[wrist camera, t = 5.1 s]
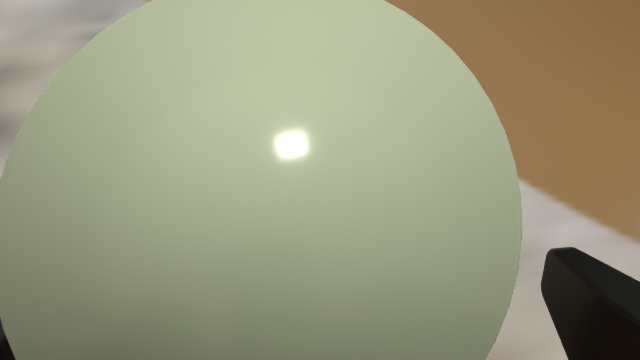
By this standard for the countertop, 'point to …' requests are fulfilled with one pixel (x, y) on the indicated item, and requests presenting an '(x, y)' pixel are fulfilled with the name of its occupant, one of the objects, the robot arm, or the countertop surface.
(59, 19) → the countertop surface
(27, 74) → the countertop surface
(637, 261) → the countertop surface
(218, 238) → the spice jar
